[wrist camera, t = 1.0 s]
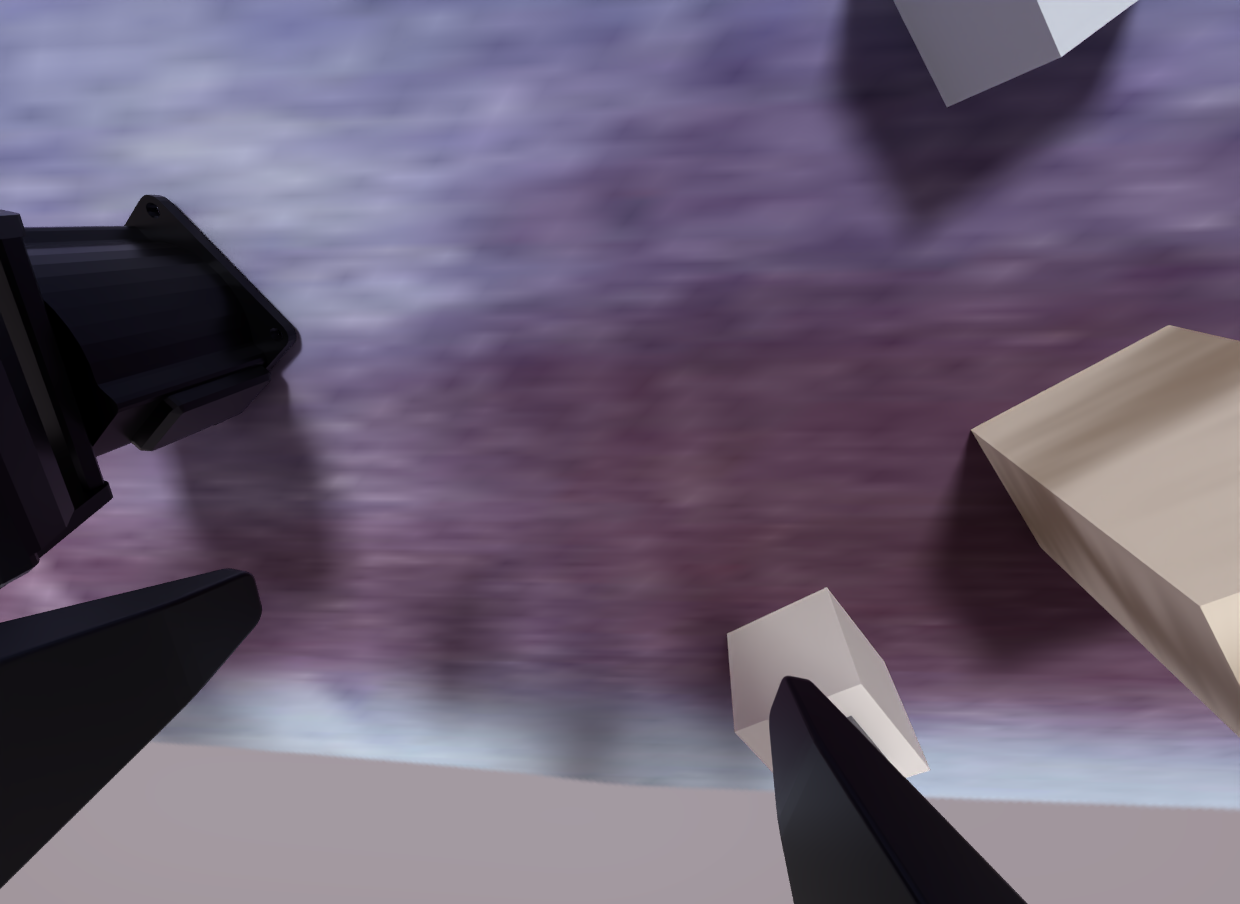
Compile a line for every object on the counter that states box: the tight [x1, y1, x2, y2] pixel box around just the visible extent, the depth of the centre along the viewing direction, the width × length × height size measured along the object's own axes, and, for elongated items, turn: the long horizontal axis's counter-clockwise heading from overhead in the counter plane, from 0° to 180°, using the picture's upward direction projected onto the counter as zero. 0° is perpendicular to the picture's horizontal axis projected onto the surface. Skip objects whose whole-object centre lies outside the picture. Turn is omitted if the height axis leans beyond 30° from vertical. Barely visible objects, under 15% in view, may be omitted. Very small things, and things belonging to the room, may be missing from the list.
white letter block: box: [727, 587, 930, 778], centre depth 21 cm, size 5×5×5 cm
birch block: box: [971, 325, 1240, 738], centre depth 13 cm, size 6×6×9 cm
